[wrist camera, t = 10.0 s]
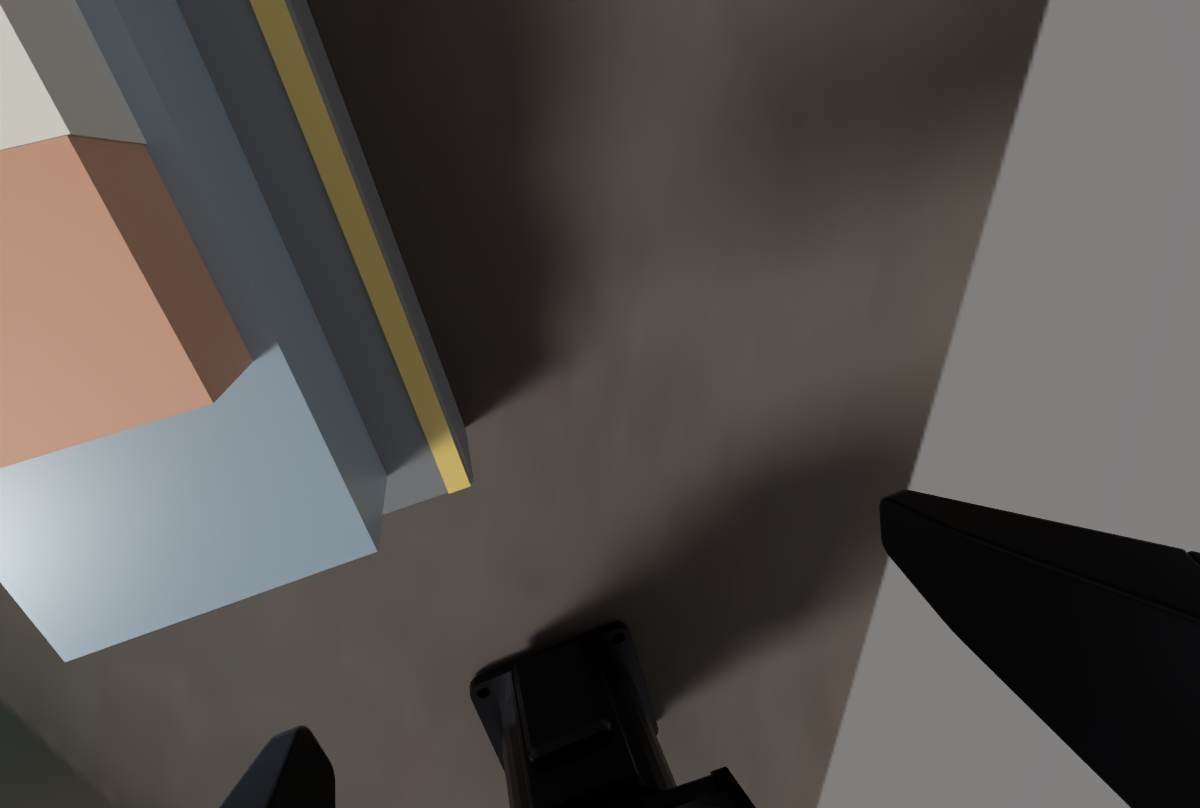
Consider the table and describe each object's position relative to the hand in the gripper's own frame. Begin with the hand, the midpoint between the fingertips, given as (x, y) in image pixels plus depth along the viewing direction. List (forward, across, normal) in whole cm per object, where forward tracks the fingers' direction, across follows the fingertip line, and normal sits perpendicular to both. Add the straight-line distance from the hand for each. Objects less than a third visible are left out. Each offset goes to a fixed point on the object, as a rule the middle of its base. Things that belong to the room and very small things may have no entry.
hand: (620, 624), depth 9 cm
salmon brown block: (+4, +7, -6) cm, 10 cm away
